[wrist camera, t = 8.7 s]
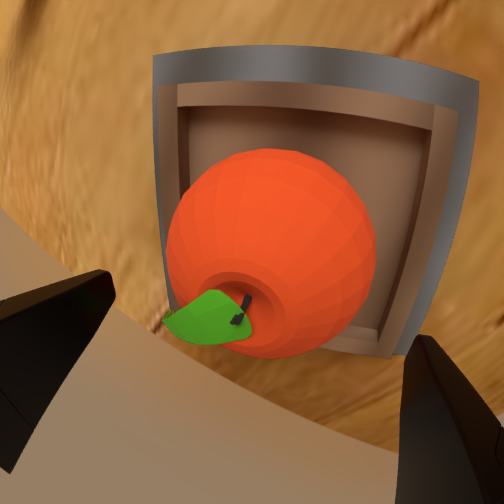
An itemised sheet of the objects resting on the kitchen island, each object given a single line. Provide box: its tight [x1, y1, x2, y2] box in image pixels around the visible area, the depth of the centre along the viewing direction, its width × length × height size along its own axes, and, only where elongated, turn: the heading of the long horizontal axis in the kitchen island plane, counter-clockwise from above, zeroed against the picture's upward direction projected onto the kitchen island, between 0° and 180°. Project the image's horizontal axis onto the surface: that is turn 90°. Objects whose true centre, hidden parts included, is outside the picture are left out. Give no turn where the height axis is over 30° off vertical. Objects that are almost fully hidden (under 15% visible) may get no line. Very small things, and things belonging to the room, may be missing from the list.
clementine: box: [162, 148, 376, 359], centre depth 10 cm, size 8×7×7 cm
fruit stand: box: [153, 45, 479, 359], centre depth 14 cm, size 16×16×4 cm
